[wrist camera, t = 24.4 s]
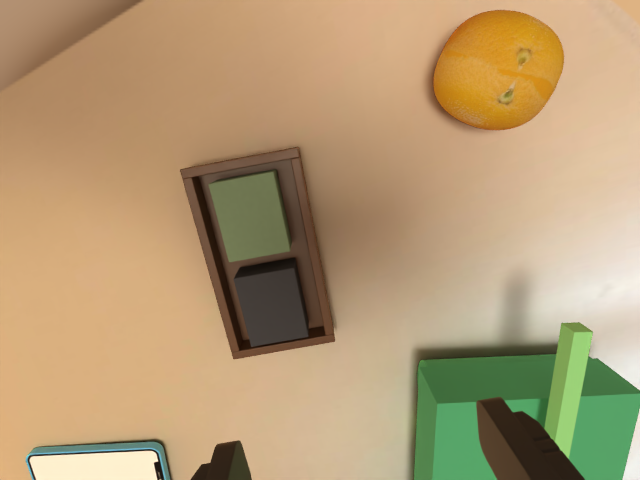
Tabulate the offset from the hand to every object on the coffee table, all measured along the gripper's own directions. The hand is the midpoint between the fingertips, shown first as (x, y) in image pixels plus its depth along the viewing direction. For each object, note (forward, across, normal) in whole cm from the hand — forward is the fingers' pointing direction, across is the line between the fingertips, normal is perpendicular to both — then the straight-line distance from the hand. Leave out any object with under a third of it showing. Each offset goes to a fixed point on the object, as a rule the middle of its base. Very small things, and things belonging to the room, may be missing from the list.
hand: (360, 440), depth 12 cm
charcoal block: (+24, +6, +4) cm, 25 cm away
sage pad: (+24, +6, -4) cm, 25 cm away
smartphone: (+24, +30, +22) cm, 44 cm away
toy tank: (+24, -14, +24) cm, 37 cm away
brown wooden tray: (+24, +6, 0) cm, 25 cm away
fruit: (+24, -15, -12) cm, 31 cm away
